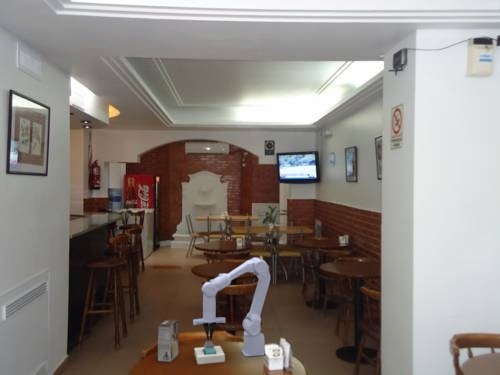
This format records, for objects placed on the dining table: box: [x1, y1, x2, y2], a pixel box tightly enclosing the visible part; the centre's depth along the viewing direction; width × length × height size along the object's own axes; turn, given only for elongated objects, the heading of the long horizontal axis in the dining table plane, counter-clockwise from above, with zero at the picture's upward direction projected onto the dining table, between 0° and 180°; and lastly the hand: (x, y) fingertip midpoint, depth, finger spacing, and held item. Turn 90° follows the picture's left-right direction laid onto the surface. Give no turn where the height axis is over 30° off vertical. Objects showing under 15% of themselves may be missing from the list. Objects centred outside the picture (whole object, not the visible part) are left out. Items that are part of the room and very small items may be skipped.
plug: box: [203, 340, 215, 355], centre depth 197 cm, size 4×6×6 cm, turn 14°
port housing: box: [193, 345, 226, 365], centre depth 197 cm, size 12×12×3 cm
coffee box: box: [157, 319, 179, 363], centre depth 197 cm, size 9×6×16 cm
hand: (209, 339), depth 197 cm, fingers closed
